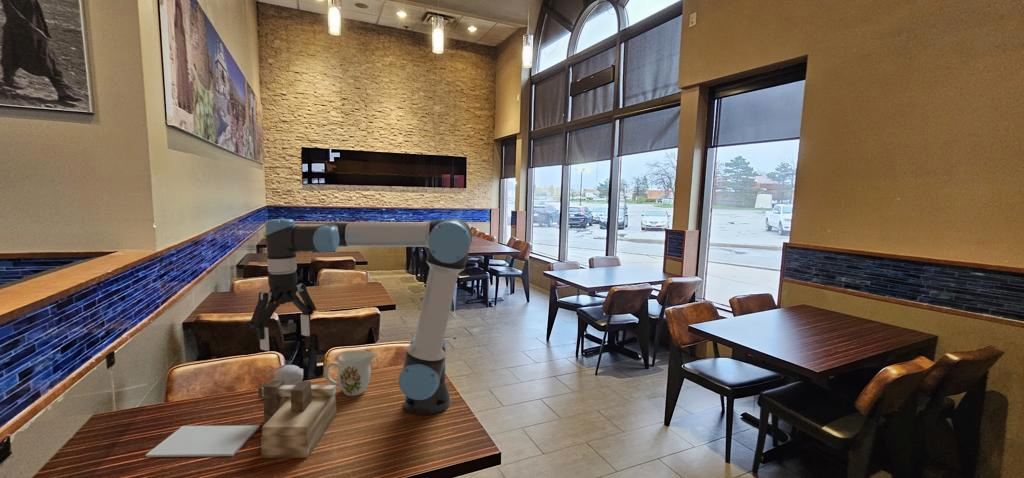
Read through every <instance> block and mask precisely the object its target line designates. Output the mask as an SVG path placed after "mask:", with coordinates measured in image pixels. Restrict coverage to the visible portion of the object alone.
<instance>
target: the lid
mask: <svg viewBox="0 0 1024 478" xmlns="http://www.w3.org/2000/svg"><path fill="white" fill-rule="evenodd" d="M311 385H312V381H311V380H303V381H300V382H299V383H298V384H297V385H296V386H295V387H294V388H293V389H292V390H291V397H289V398H288V399H287V400H285V403H284V404H283V406H282V407H281V408H280V409H279V410H278V411H277V412H276V413H275V414H274V415H273V416H272V417H271V418H270V419H269V420H268V421H267V422H266V424H265V425H264V424H263V425H262V427H261V433H262V435H261V436H307V435H308V434H309V433H310V431H311V430H312V429H313V427H314V426H315V424H316V423H317V422H318V420H319V419H320V418H321V416H322V415H323V413H324V412H325V411H326V409H327V408H328V406H329V405H330V404H331V402H332V401H333V400H334V398H335V397H336V394H335V395H334V396H333V397H311Z"/></svg>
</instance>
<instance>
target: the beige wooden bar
mask: <svg viewBox="0 0 1024 478" xmlns="http://www.w3.org/2000/svg"><path fill="white" fill-rule="evenodd" d="M267 383H268V382H266V383H263V384H261V385H260V386H259V387H258V399H262V398H264V391H263V387H264V386H265V385H266V384H267ZM295 386H296V385H281V386H280V387H279V388H278V392H279V397H285V398H286V397H289V398H290V397H291V390H292V389H293V388H294V387H295ZM336 393H337V386H336V385H332V384H311V397H333V396H334V395H335V396H336Z"/></svg>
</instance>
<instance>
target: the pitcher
mask: <svg viewBox="0 0 1024 478" xmlns="http://www.w3.org/2000/svg"><path fill="white" fill-rule="evenodd" d="M377 356H378V353H376V352H369V351H366V350H353V351H348V352H345V353H342V354H340V355H339V356H338V362H335V361H331V362H329V363H327V365H326V366H325V369H324V377H325V379H326V380H327V382H328V383H329V384H330V385H336V387H339V388H340V389H341V391H342V392H343V394H344V395H345V396H349V397H355V396H359V395H362V394H363V393H365V391H366V389H367V387H368V386H369V382H370V380H371V374H372V373H371V365H370V363H372V360H373V358H375V357H377ZM332 366H333V367H337V381H336V380H334V379H333V378H332V377H331V376H330V373H329V371H330V368H331V367H332Z"/></svg>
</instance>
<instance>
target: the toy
mask: <svg viewBox="0 0 1024 478" xmlns="http://www.w3.org/2000/svg"><path fill="white" fill-rule="evenodd" d="M276 371H277V372H276ZM275 372H276V373H275ZM274 373H275V375H274V378H273V380H284V385H297V384H298V383H299V382H300V381H304V368H300V366H297V365H294V364H284V365H280V366H278V367H276V368H274V369H272V370H271V371H270V372H269V373H268V374H267V377H270V375H272V374H274Z"/></svg>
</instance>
